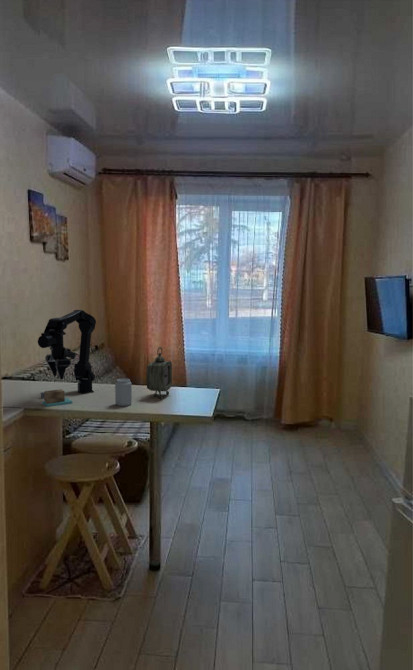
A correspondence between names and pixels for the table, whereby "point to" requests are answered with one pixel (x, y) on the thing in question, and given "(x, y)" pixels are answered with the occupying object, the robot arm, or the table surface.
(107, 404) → the table surface
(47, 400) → the walnut block
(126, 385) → the can
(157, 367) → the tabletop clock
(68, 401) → the pad
